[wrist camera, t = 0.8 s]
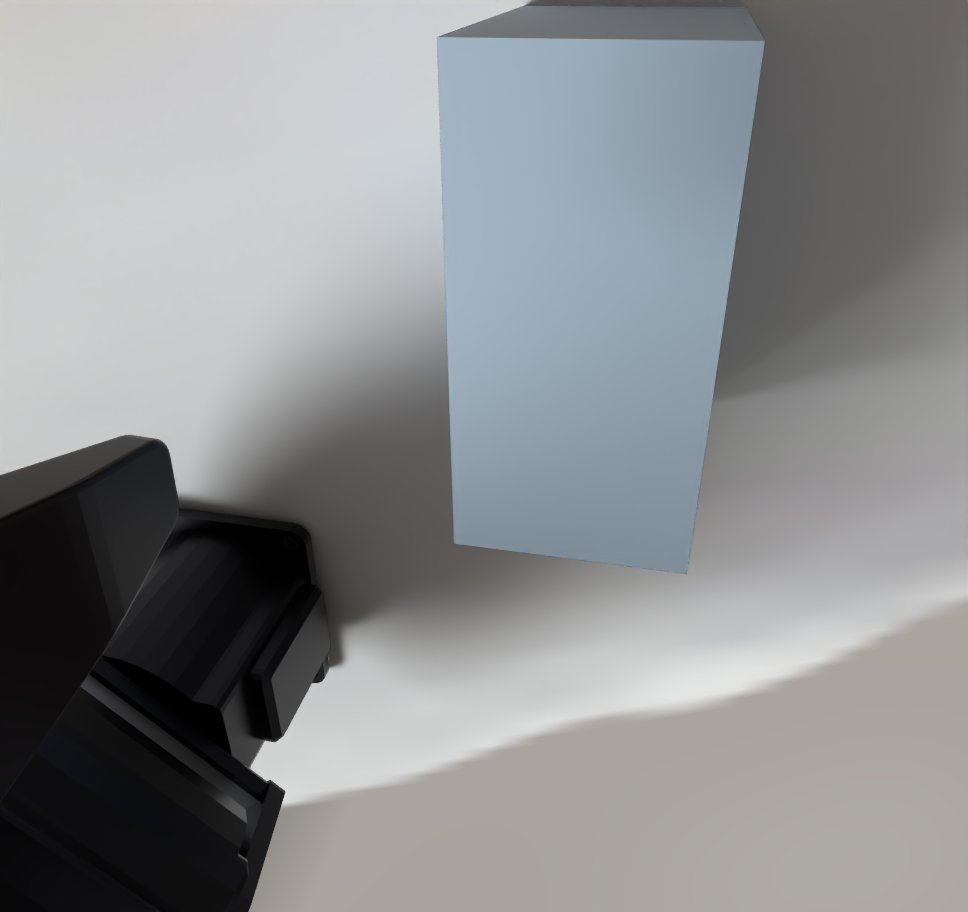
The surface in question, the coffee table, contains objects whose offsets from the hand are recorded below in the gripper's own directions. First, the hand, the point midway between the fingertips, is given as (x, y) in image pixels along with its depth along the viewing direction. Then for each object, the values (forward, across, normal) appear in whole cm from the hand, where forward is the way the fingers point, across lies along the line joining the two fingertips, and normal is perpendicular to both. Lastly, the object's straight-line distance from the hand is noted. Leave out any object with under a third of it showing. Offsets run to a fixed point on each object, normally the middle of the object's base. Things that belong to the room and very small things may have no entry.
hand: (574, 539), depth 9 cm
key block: (+13, +1, 0) cm, 13 cm away
